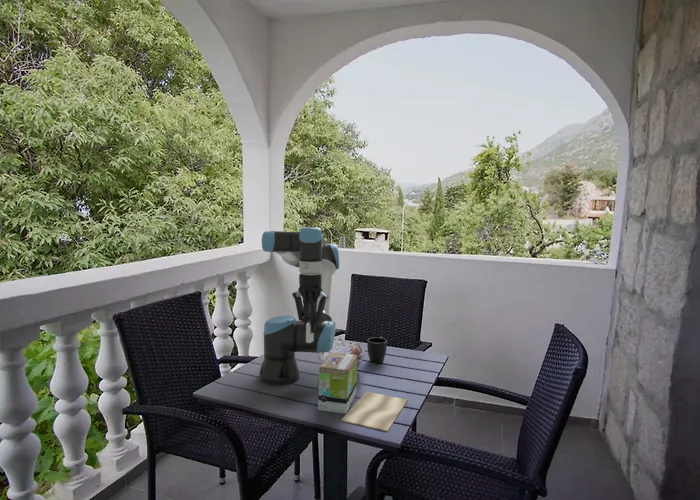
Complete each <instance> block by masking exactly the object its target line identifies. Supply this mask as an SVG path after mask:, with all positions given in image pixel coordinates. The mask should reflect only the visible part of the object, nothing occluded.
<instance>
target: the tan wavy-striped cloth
mask: <svg viewBox="0 0 700 500" xmlns="http://www.w3.org/2000/svg"><path fill="white" fill-rule="evenodd" d="M407 402H408V399H405V398H400V397H395V396H390V395H387V394H386V395H385V394H380V393H377V392H371V391H366V392H365V393H364V394H363V395H362V396H361V397H360V398H359V399H358V401H356V402H355V403H354V405H353V406H351V408H349V410H348V411H347V413H346V414H345V415H344V416H343V417H342V418H341V419H340V422H342V423H343V422H344V423H348V424H352V425H355V426H360V427H363V428H364V427H366V428H369V429H374V430H378V431H382V432H386V433H388V432H389V430H390V429H391V427H392V426H393V424H394V423H395V421H396V419H397V418H398V417H399V415H400V414H401V411H402V410H403V408H404V407H405V406H406V404H407Z"/></svg>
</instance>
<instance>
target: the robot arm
mask: <svg viewBox="0 0 700 500" xmlns="http://www.w3.org/2000/svg"><path fill="white" fill-rule="evenodd" d="M325 239H326V238H325V237H324V235H323V230H322V228H320V227H315V226H314V227H311V226H310V227H308V226H307V227H301V228H300V230H299V231H279V230H278V231H275V230H269V231H268V230H267V231H264V232H263V233H262V236H261V248H262V251H263V252H265V253H266V252H267V253H276V254H278V255H279V256H280V257H281V259H282V260H283V262H285V263H286V264H288V265H289V266H293V267H295V268H298V269H299V270H298V271H299V273H300V274H298V275H299V276H298V284H299V287H298V288H297V289H298V290H297V291H294V292H292V294H291V295H292V297H293V299H294V303H295V307H296V312H297V317H298V320H296V319H297V318H296V317H295V316H294V315H279V316H275V317H271V318H269V319H268V320H266V321H265V322H264V327H263V361H262V364H261V367H260V370H259V373H258V374H259V375H258V376H259V377H258V379H259V381H260V382H261V383H263V384H266V385H269V386H284V385H290V384H292V383H295V382H297V381H298V380H299V378H300V369H299V366H298V364H297V360H296V353H317V354H321V353H322V354H323V353H330V352H331V350H332V349H333V346H334V342H335V335H336V322H335V321H333V319H332V317H331V315H329V314H330V306H331V293H332V292H331V290H332V280H333V275H334V274H336V271H337V270H339V269H340V255H339V247H338V245H337V244H336V243H330V242H328V243H325V242H326V241H325Z"/></svg>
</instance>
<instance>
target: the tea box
mask: <svg viewBox="0 0 700 500" xmlns="http://www.w3.org/2000/svg"><path fill="white" fill-rule="evenodd" d="M318 372H319V373H318V402H317V410H318V411H323V412H329V413H336V414H345V415H346V414H347V413H348V411H349V410H350V407H352V406H351V405H352V404H353V402H354V399H355V397H356V395H357V376H358V375H357V374H358V355H357V354H352V353H350V354H349V353H342V352H341V353H340V352H331V351H330V352H329V354H328V355H327V356H326V358H325V359H324V360H323V362H322V363H321V364H320V366H319V370H318Z"/></svg>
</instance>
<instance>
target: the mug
mask: <svg viewBox="0 0 700 500" xmlns="http://www.w3.org/2000/svg"><path fill="white" fill-rule="evenodd" d="M387 343H388V340H387V339H386V338H384V337H383V336H379V337H378V336H377V337H370V338H368V339H367V346H366V347H367V355H368V359H369V362H370V363H371V362H372V363H371V364H373V363H375V364H374V365H381V364H383V363H384V360H385V357H386V353H387V345H388V344H387ZM380 363H381V364H380Z"/></svg>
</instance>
